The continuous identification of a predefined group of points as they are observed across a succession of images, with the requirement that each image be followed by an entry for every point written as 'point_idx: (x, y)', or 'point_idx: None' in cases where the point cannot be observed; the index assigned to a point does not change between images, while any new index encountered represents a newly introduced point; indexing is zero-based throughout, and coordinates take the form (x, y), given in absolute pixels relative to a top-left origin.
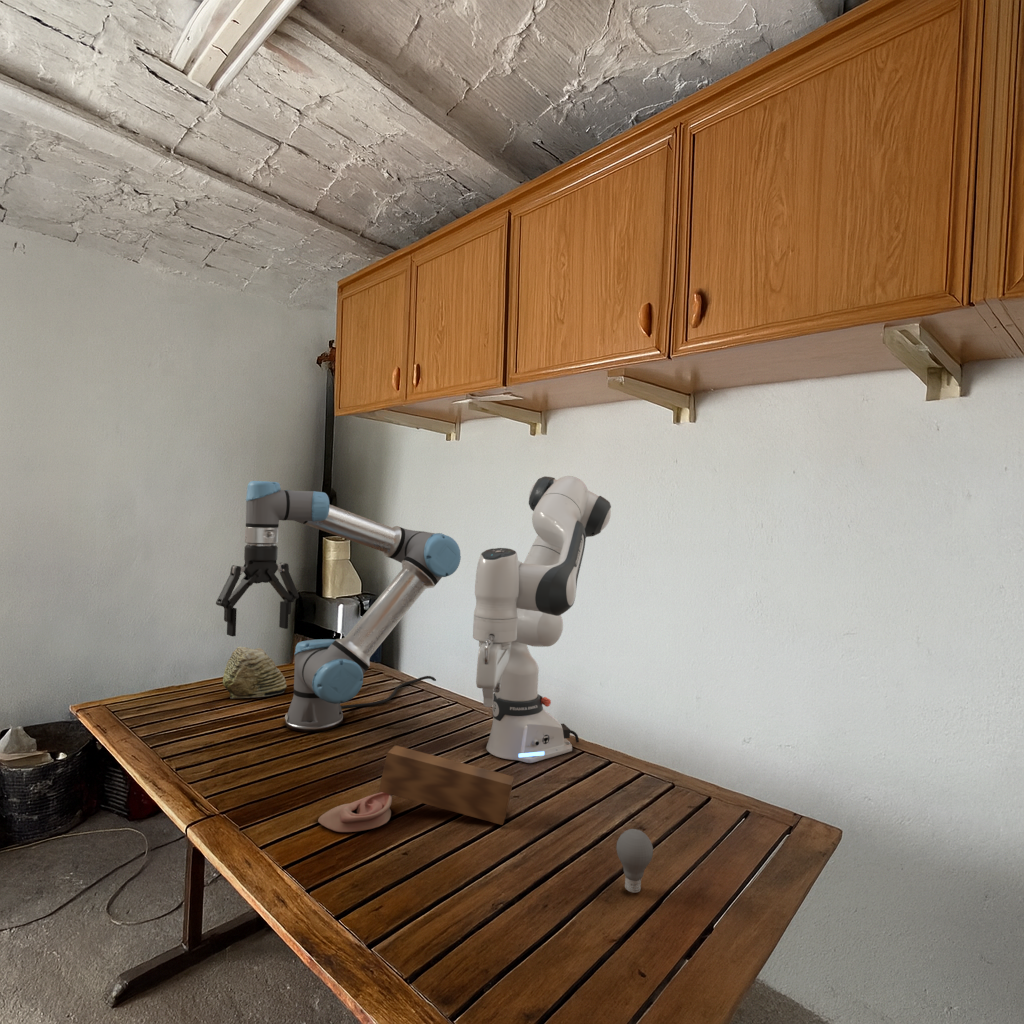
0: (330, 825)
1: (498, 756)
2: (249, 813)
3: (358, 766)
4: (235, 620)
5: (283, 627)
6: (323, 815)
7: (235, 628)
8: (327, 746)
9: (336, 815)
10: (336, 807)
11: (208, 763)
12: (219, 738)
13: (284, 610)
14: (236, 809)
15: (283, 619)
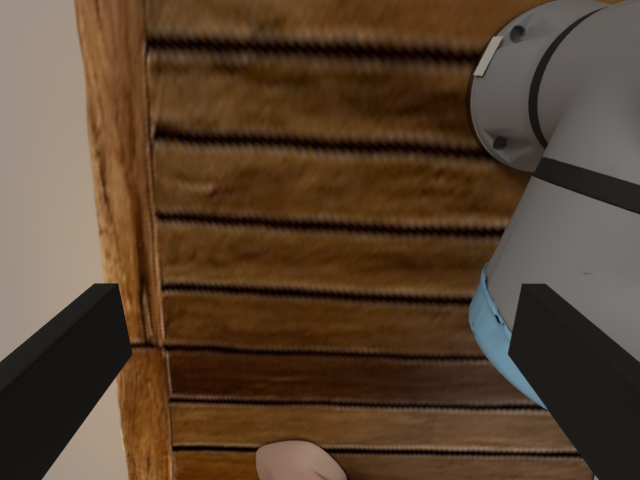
0: (259, 473)
1: (595, 477)
2: (197, 373)
3: (420, 357)
4: (60, 443)
5: (515, 337)
6: (264, 456)
7: (101, 393)
8: (449, 247)
9: (270, 476)
10: (287, 456)
11: (220, 151)
12: (304, 10)
13: (602, 455)
14: (187, 352)
15: (548, 377)
